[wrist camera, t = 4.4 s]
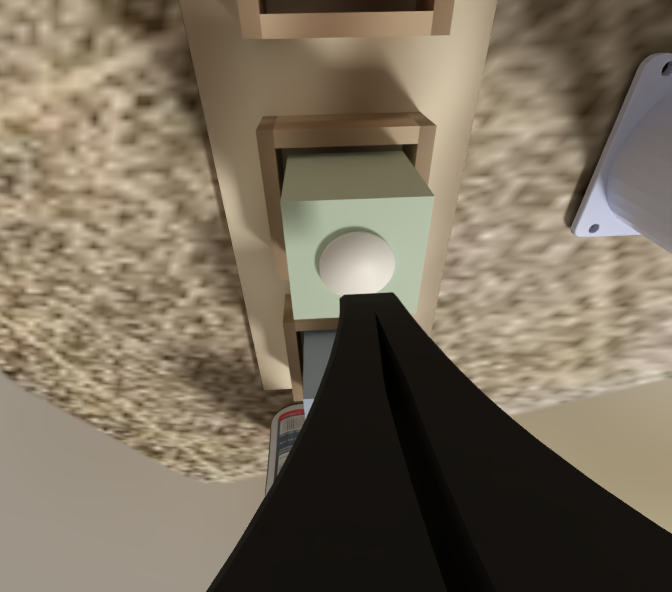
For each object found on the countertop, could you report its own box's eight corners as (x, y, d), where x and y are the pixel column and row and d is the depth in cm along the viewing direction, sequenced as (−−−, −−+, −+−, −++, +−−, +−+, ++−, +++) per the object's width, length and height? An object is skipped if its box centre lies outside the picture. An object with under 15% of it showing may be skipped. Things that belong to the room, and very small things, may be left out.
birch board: (566, -393, 9) (663, -547, 6) (419, 374, 26) (430, 410, 23) (98, -404, 8) (13, -575, 6) (264, 383, 25) (260, 420, 23)
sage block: (402, 150, 14) (436, 198, 10) (393, 250, 16) (417, 317, 13) (287, 154, 14) (279, 204, 10) (297, 254, 16) (293, 323, 13)
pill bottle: (317, 445, 31) (320, 571, 24) (260, 430, 29) (245, 562, 22) (350, 412, 28) (364, 543, 21) (290, 393, 26) (282, 530, 19)
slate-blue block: (386, 324, 19) (404, 397, 16) (381, 378, 22) (395, 450, 18) (304, 328, 19) (303, 403, 15) (309, 382, 22) (309, 456, 18)
